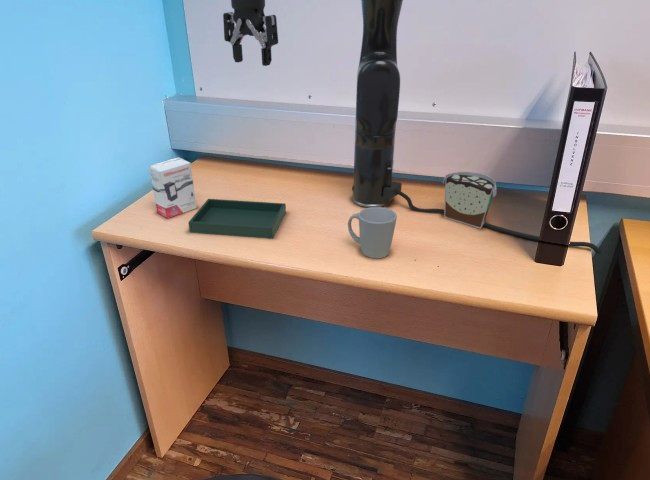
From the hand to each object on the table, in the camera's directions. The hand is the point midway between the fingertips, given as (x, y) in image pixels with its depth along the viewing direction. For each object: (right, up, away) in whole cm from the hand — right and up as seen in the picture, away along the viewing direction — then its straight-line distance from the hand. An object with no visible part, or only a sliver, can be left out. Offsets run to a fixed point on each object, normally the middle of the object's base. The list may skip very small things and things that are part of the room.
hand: (252, 63), depth 128 cm
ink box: (-19, -34, +4) cm, 39 cm away
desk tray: (-3, -38, -2) cm, 38 cm away
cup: (+26, -46, -15) cm, 54 cm away
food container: (+50, -37, -3) cm, 62 cm away
